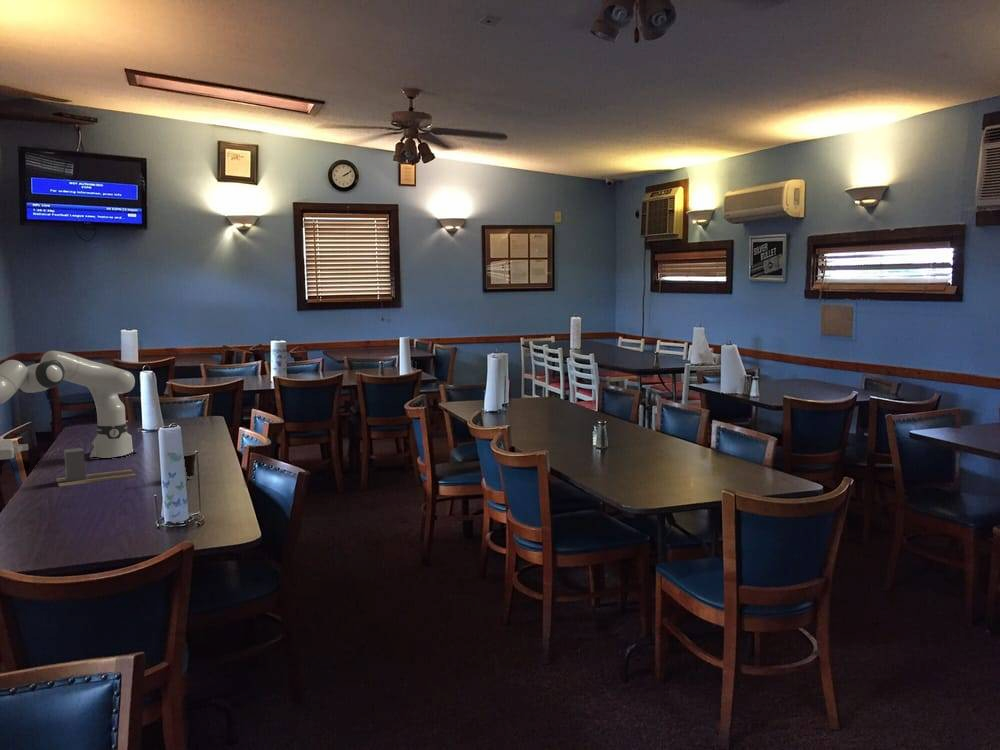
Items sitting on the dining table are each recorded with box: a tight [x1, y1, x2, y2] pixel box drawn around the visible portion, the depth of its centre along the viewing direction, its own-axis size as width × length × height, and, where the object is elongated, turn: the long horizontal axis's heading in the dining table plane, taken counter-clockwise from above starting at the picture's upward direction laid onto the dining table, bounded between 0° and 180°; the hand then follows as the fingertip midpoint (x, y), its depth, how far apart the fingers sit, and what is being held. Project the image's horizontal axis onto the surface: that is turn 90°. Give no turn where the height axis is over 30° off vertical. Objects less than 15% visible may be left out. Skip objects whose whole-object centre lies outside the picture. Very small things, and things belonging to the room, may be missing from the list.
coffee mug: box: [183, 450, 197, 477], centre depth 299 cm, size 12×9×10 cm
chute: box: [55, 469, 137, 487], centre depth 292 cm, size 10×26×2 cm, turn 124°
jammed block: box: [63, 447, 87, 482], centre depth 288 cm, size 6×6×12 cm
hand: (28, 447), depth 278 cm, fingers closed
